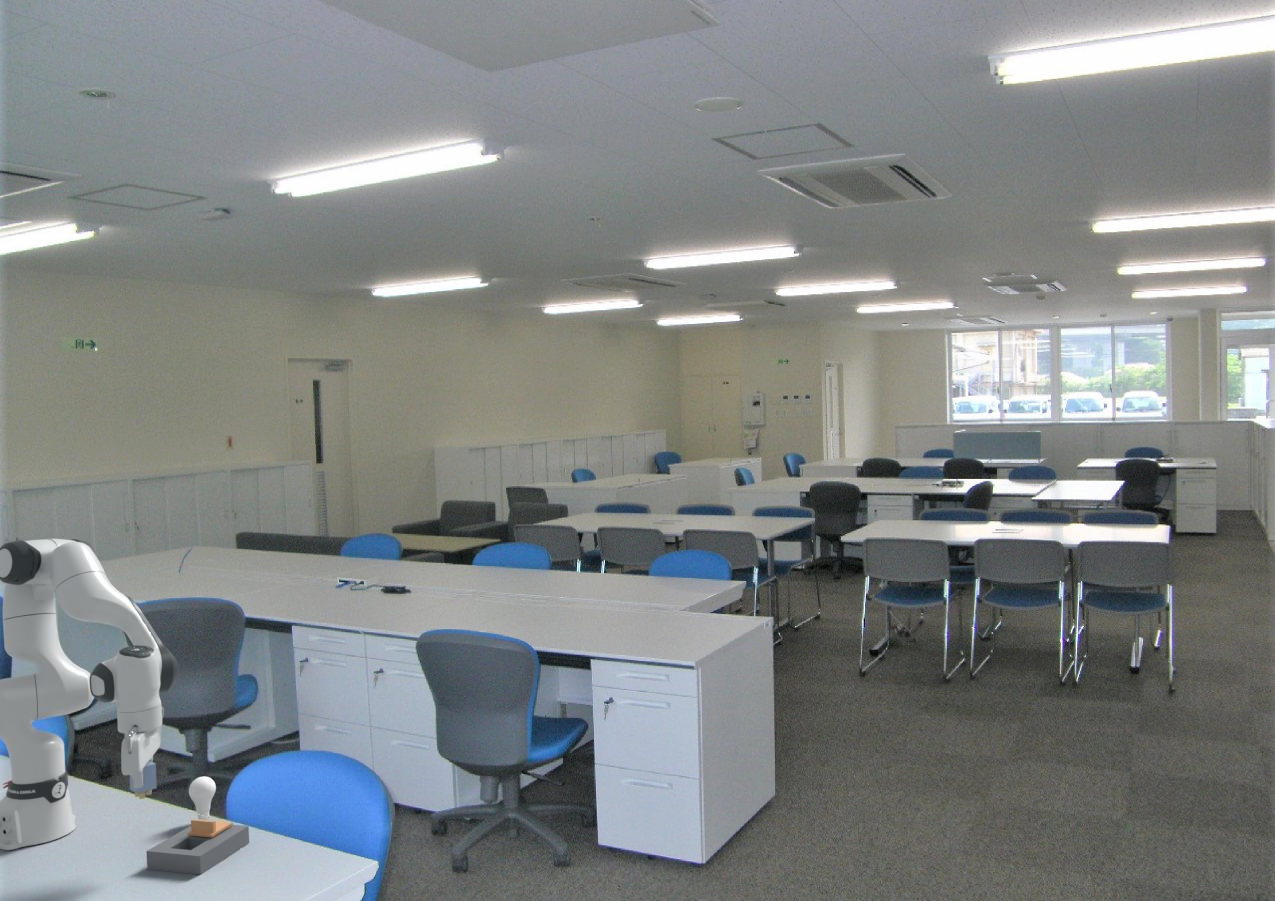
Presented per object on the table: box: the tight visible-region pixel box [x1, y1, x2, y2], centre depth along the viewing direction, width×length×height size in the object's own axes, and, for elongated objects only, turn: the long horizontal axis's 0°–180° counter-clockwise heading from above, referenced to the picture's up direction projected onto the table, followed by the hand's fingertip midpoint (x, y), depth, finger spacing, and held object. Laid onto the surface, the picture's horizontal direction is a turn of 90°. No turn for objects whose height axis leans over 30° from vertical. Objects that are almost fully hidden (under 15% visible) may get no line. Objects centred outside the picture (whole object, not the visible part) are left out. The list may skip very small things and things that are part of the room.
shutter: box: [187, 818, 234, 837], centre depth 219 cm, size 7×7×3 cm
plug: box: [129, 761, 158, 800], centre depth 212 cm, size 4×4×8 cm
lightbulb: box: [188, 775, 217, 820], centre depth 235 cm, size 6×6×11 cm
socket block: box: [145, 824, 250, 876], centre depth 215 cm, size 14×16×4 cm
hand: (143, 781), depth 212 cm, fingers closed on plug, 6 cm apart
